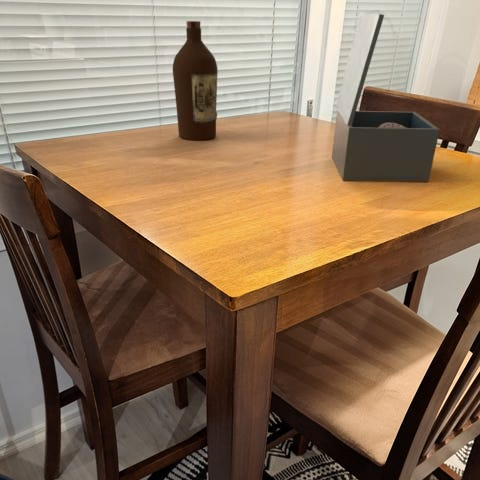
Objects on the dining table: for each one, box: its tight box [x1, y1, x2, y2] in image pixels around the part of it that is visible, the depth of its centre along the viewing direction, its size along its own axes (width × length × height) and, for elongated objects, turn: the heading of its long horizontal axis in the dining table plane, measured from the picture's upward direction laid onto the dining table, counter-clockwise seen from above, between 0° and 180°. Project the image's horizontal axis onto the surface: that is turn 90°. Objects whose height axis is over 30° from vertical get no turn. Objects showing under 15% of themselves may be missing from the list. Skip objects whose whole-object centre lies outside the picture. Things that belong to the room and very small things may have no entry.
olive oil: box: [172, 20, 218, 141], centre depth 119 cm, size 11×11×25 cm
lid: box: [334, 11, 385, 126], centre depth 93 cm, size 18×17×1 cm
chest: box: [331, 110, 441, 183], centre depth 100 cm, size 17×17×10 cm
